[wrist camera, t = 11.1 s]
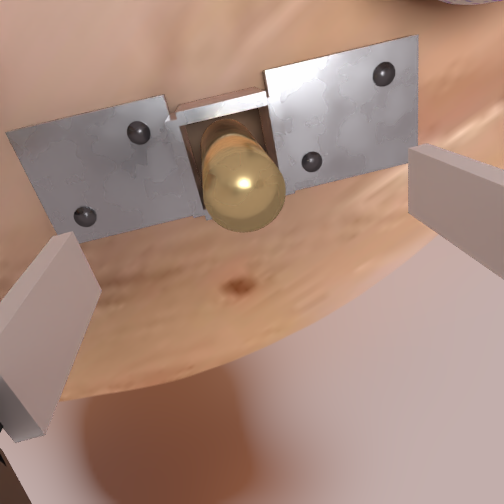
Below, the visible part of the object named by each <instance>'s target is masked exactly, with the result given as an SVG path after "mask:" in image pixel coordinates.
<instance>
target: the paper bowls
mask: <svg viewBox="0 0 504 504" xmlns="http://www.w3.org/2000/svg"><path fill="white" fill-rule="evenodd" d="M439 1H443V2H446V3H451V4H459V5H477V4H485V3H491V2H497V1H503V0H439Z"/></svg>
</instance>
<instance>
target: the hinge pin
mask: <svg viewBox="0 0 504 504" xmlns="http://www.w3.org/2000/svg"><path fill="white" fill-rule="evenodd" d="M201 160H202V181H203V199H204V204H205V207H206V209H207V211H208V213H209V215H210V216H211V218H212V219H213V220H214V221H215V222H216V223H218V224H219V225H220V226H222V227H223V228H226V229H228V230H231V231H235V232H252V231H256V230H259V229H261V228H263V227H265V226H266V225H268V224H269V223H271V222H272V221H273V220H274V219H275V218H276V216H277V215H278V214H279V212H280V211H281V209H282V207H283V204H284V201H285V195H286V187H285V181H284V178H283V176H282V173H281V172H280V170H279V169H278V167H277V166H276V165H275V163H274V162H273V161H272V160H271V158H270V157H269V156H268V155H267V153H266V152H265V151H264V150H263V148H262V147H261V146H260V145H259V143H258V142H257V141H256V140H255V138H254V137H253V136H252V134H251V133H250V132H249V131H248V129H247V128H246V127H245V126H244V125H243V124H241V123H240V122H238V121H236V120H232V119H221V120H217V121H215V122H213V123H212V124H211V125H209V126H208V127H207V129H206V130H205V132H204V133H203V136H202V139H201Z"/></svg>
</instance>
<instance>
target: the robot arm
mask: <svg viewBox="0 0 504 504" xmlns="http://www.w3.org/2000/svg"><path fill="white" fill-rule="evenodd" d="M408 213H409V214H411V215H412V216H413V217H415V218H416V219H418V220H419V221H421V222H422V223H423V224H425V225H426V226H428V227H429V228H431V229H432V230H434V231H435V232H436V233H438V234H439V235H441V236H442V237H444V238H445V239H446V240H448V241H449V242H451V243H452V244H454V245H455V246H456V247H458V248H459V249H461V250H462V251H464V252H465V253H466V254H468V255H469V256H471V257H472V258H474V259H475V260H476V261H478V262H479V263H481V264H482V265H484V266H485V267H486V268H488V269H489V270H491V271H492V272H494V273H495V274H497V275H498V276H499V277H501V278H502V279H504V170H503V169H500V168H497V167H494V166H491V165H488V164H486V163H483V162H480V161H477V160H474V159H471V158H468V157H465V156H462V155H460V154H457V153H454V152H451V151H448V150H445V149H442V148H439V147H437V146H434V145H431V144H428V143H427V144H423V145H419V146H415V147H411V148H408ZM101 292H102V290H101V288H100V286H99V284H98V282H97V280H96V278H95V276H94V274H93V271H92V269H91V267H90V265H89V263H88V261H87V259H86V257H85V255H84V253H83V251H82V249H81V247H80V245H79V243H78V241H77V239H76V237H75V235H74V233H73V231H72V232H68V233H64V234H60V235H56V236H52V238H51V239H50V240H49V241H48V243H47V244H46V245H45V246H44V248H43V249H42V250H41V251H40V253H39V254H38V255H37V256H36V258H35V259H34V260H33V262H32V263H31V264H30V265H29V267H28V268H27V269H26V270H25V272H24V273H23V274H22V275H21V277H20V278H19V279H18V280H17V282H16V283H15V284H14V285H13V287H12V288H11V289H10V290H9V292H8V293H7V294H6V295H5V297H4V298H3V299H2V300H1V302H0V432H1V430H2V428H3V429H4V430H5V431H6V432H7V434H8V435H9V436H10V437H11V438H12V440H13V441H14V442H15V443H17V442H21V441H24V440H28V439H32V438H36V437H39V436H43V435H46V432H47V429H48V427H49V424H50V422H51V419H52V417H53V414H54V411H55V409H56V407H57V404H58V401H59V399H60V396H61V394H62V391H63V389H64V386H65V384H66V381H67V379H68V376H69V373H70V371H71V368H72V366H73V363H74V361H75V358H76V356H77V353H78V351H79V348H80V345H81V343H82V340H83V338H84V335H85V333H86V330H87V328H88V325H89V322H90V320H91V317H92V315H93V312H94V310H95V307H96V305H97V302H98V300H99V297H100V294H101ZM0 504H32V503H31V501H30V500H29V498H28V496H27V494H26V492H25V490H24V489H23V487H22V485H21V483H20V481H19V480H18V478H17V476H16V474H15V472H14V471H13V469H12V467H11V465H10V463H9V461H8V460H7V458H6V456H5V454H4V452H3V451H2V450H1V449H0Z"/></svg>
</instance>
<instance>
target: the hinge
mask: <svg viewBox="0 0 504 504" xmlns="http://www.w3.org/2000/svg"><path fill="white" fill-rule="evenodd" d="M263 75H264V81H265V86H266V90H261V89H259V88H256V87H251V88H247V89H243V90H238V91H234V92H230V93H226V94H222V95H217V96H213V97H209V98H205V99H201V100H196V101H192V102H188V103H184V104H180V105H179V106H178V108H177V110H176V112H172V113H170V112H169V108H168V105H167V101H166V98H165V95H164V94H162V95H158V96H154V97H150V98H145V99H141V100H137V101H133V102H128V103H124V104H120V105H116V106H112V107H107V108H103V109H99V110H95V111H91V112H86V113H82V114H78V115H74V116H69V117H65V118H61V119H57V120H53V121H48V122H44V123H40V124H36V125H32V126H27V127H23V128H19V129H15V130H11V131H8V132H5V133H6V135H7V137H8V139H9V141H10V143H11V145H12V147H13V149H14V151H15V153H16V155H17V157H18V159H19V160H20V162H21V164H22V166H23V168H24V170H25V172H26V174H27V176H28V178H29V180H30V182H31V184H32V186H33V188H34V190H35V192H36V194H37V196H38V198H39V200H40V202H41V204H42V206H43V208H44V210H45V212H46V213H47V215H48V217H49V219H50V221H51V223H52V225H53V227H54V229H55V231H56V233H57V235H60V234H64V233H68V232H72V231H73V233H74V235H75V237H76V239H77V241H78V243H83V242H87V241H91V240H95V239H99V238H104V237H108V236H112V235H116V234H120V233H124V232H128V231H132V230H136V229H140V228H144V227H149V226H153V225H157V224H161V223H165V222H169V221H173V220H177V219H181V218H185V217H189V216H193V218H196V217H200V216H204V215H205V217H206V220H210V219H212V218H211V216H210V215H209V213H208V211H207V209H206V207H205V204H204V199H203V188H202V184H201V181H200V177H199V174H198V170H197V167H196V163H195V159H194V156H193V152H192V149H191V145H190V142H189V138H188V135H187V131H186V128H185V125H187V124H191V123H195V122H199V121H203V120H208V119H212V118H216V117H220V116H224V115H228V114H233V113H237V112H241V111H245V110H249V109H254V108H258V109H259V114H260V119H261V125H262V130H263V135H264V141H265V146H266V151H267V155H268V156H269V157H270V158H271V160H272V161H273V162H274V163H275V165H276V166H277V167H278V169H279V170H280V172H281V173H282V176H283V178H284V181H285V187H286V195H290V194H294V193H295V191H296V190H300V189H304V188H308V187H312V186H316V185H320V184H324V183H329V182H333V181H337V180H341V179H345V178H349V177H353V176H357V175H361V174H365V173H369V172H374V171H378V170H382V169H386V168H390V167H394V166H398V165H402V164H406V163H408V148H411V147H415V146H418V35H411V36H407V37H402V38H398V39H394V40H390V41H385V42H381V43H377V44H373V45H369V46H364V47H360V48H356V49H352V50H348V51H343V52H339V53H335V54H331V55H326V56H322V57H318V58H314V59H310V60H305V61H301V62H297V63H293V64H289V65H284V66H280V67H276V68H272V69H267V70H263ZM286 195H285V196H286Z"/></svg>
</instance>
